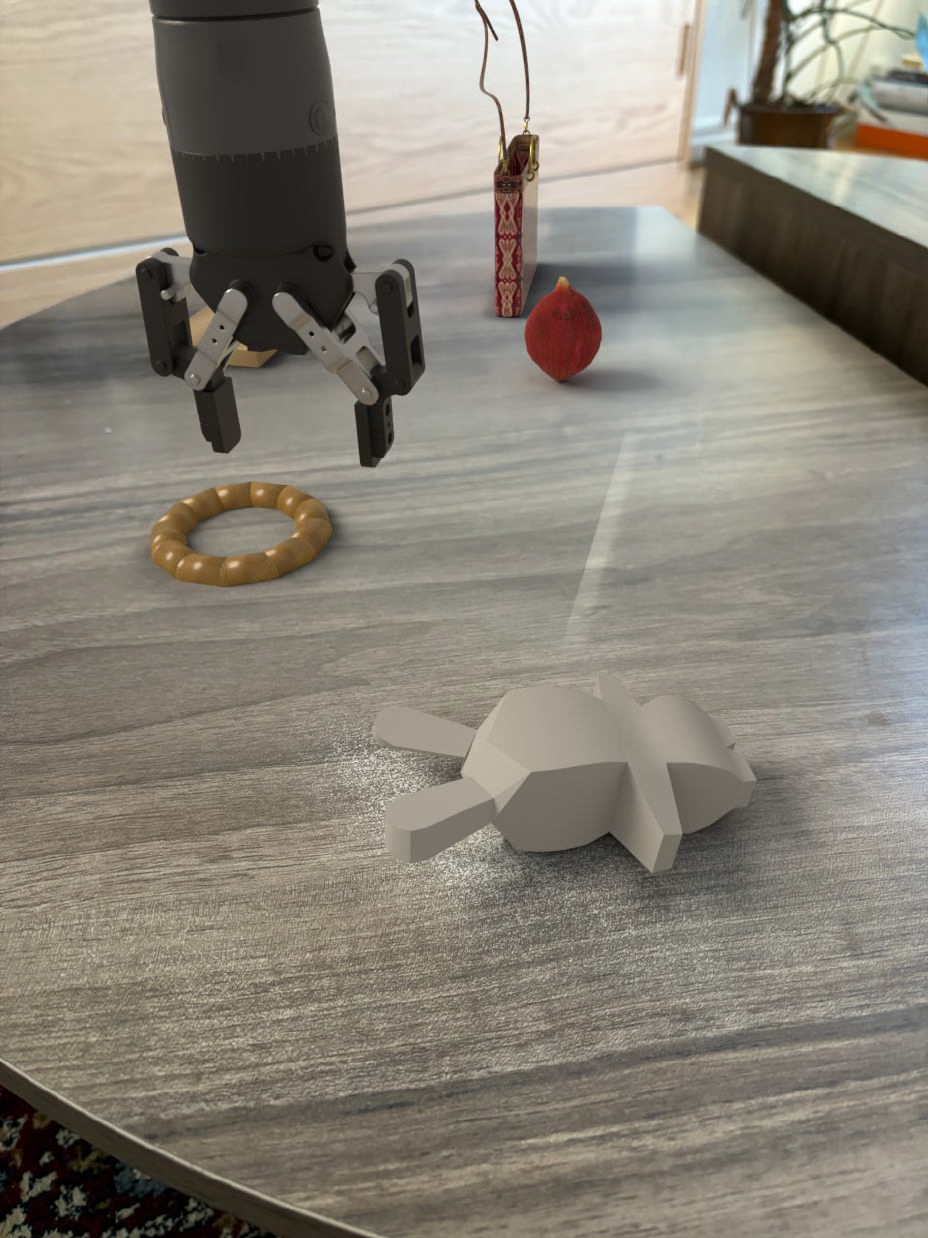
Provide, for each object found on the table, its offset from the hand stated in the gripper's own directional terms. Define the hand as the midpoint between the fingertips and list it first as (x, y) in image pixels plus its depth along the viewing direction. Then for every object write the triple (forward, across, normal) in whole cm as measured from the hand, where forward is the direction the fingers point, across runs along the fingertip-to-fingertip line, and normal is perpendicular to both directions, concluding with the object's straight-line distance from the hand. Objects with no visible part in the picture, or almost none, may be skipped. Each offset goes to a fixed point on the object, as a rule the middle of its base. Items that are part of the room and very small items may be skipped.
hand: (299, 453), depth 54 cm
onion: (+7, -10, -28) cm, 30 cm away
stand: (+7, +19, -30) cm, 36 cm away
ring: (+6, +4, 0) cm, 7 cm away
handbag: (+7, 0, -50) cm, 50 cm away
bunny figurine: (+7, -18, +16) cm, 25 cm away
